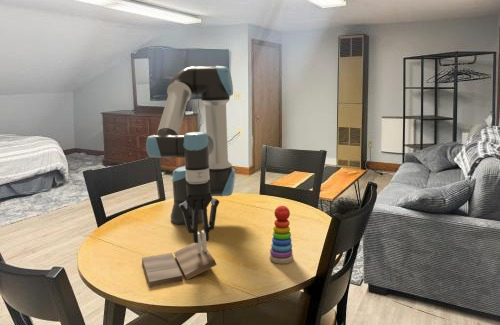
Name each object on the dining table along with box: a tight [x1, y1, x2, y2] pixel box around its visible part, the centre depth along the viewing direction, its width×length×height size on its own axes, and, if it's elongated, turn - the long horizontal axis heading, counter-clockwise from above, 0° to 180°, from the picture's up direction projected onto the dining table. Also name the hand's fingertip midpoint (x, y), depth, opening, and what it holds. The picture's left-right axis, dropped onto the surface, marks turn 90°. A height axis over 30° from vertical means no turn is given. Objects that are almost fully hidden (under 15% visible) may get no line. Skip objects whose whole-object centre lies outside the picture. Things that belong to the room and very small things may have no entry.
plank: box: [173, 240, 217, 280], centre depth 138 cm, size 18×10×2 cm, turn 21°
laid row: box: [141, 252, 184, 288], centre depth 134 cm, size 18×10×2 cm, turn 21°
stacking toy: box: [269, 205, 294, 265], centre depth 140 cm, size 8×8×19 cm
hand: (201, 250), depth 138 cm, fingers closed
